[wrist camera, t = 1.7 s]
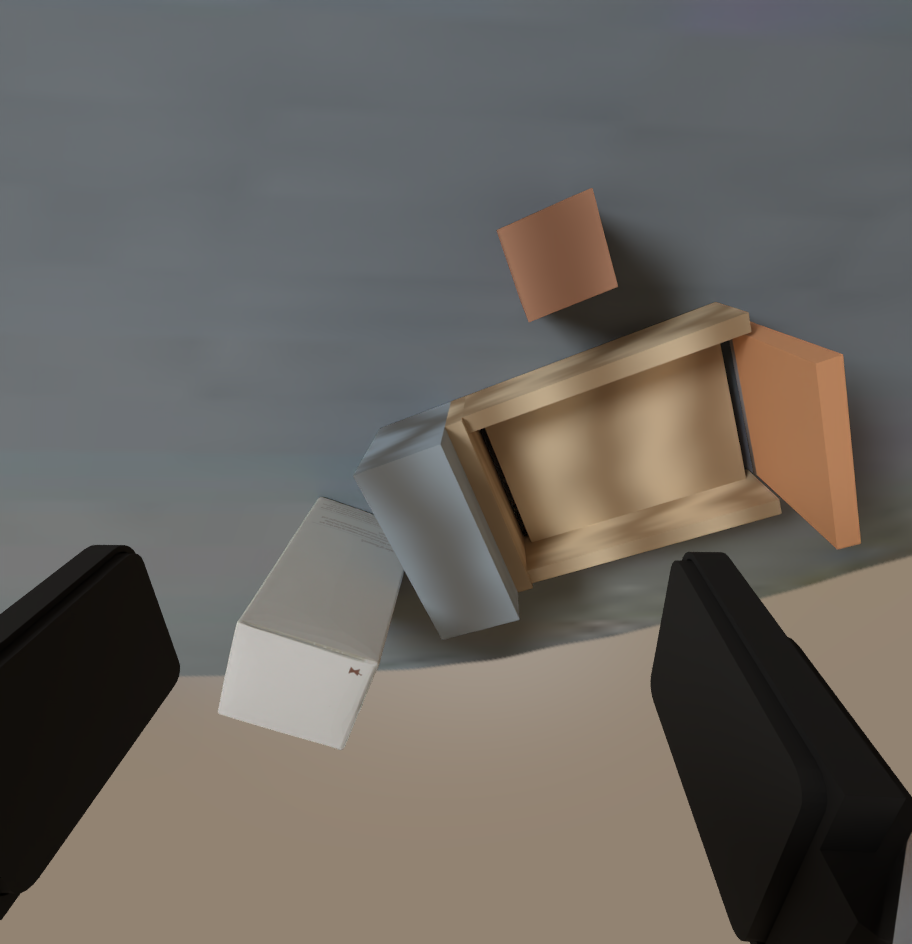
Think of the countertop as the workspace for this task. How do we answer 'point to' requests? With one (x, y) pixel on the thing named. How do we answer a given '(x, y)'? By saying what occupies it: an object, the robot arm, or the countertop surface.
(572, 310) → the countertop surface
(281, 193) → the countertop surface
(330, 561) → the supplement box
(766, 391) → the panel
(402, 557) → the truck bed
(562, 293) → the block
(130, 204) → the countertop surface
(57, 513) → the countertop surface
